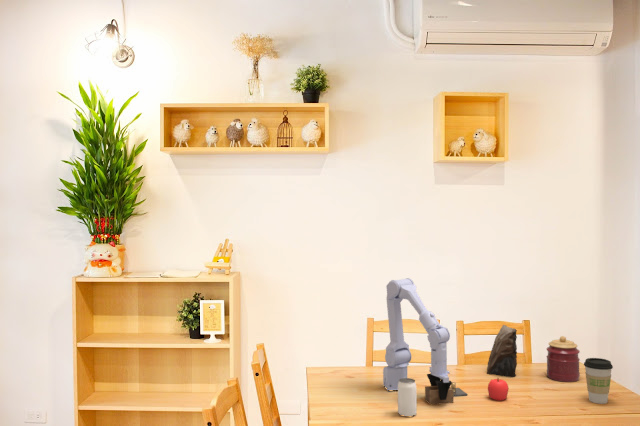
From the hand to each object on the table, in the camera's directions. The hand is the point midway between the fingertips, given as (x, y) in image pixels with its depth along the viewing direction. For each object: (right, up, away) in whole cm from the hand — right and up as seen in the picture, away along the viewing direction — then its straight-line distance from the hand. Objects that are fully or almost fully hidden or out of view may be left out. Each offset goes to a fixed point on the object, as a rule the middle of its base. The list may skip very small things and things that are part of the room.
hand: (439, 396), depth 222 cm
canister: (+58, -1, +28) cm, 64 cm away
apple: (+23, -2, +3) cm, 23 cm away
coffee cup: (+59, -2, -1) cm, 59 cm away
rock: (+34, -1, +36) cm, 50 cm away
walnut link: (0, -2, 0) cm, 2 cm away
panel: (+7, -2, +9) cm, 12 cm away
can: (-14, -3, -13) cm, 19 cm away
